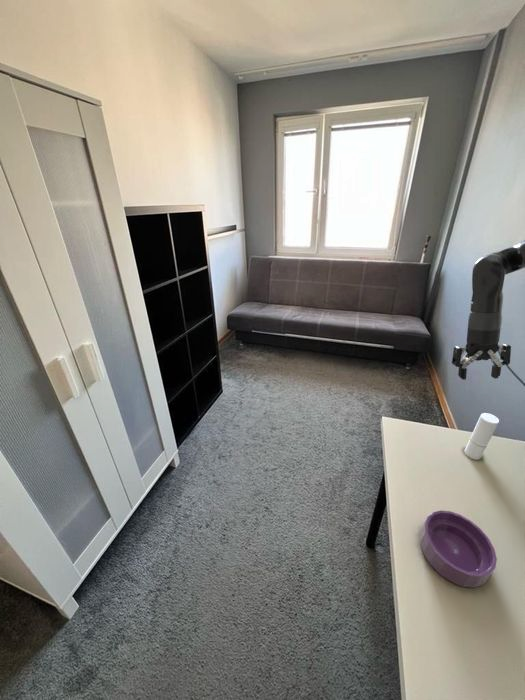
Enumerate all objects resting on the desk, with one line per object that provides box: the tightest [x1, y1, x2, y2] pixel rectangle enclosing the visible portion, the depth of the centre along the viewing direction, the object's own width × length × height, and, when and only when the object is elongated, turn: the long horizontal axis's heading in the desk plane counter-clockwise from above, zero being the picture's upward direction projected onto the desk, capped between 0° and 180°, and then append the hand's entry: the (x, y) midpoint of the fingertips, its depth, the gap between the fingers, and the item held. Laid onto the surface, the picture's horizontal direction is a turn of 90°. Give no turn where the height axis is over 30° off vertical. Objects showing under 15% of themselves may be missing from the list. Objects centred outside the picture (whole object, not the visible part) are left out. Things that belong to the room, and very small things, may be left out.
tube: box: [464, 412, 500, 461], centre depth 84 cm, size 4×4×15 cm
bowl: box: [419, 509, 498, 589], centre depth 62 cm, size 13×13×6 cm
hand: (478, 378), depth 85 cm, fingers open, 8 cm apart
